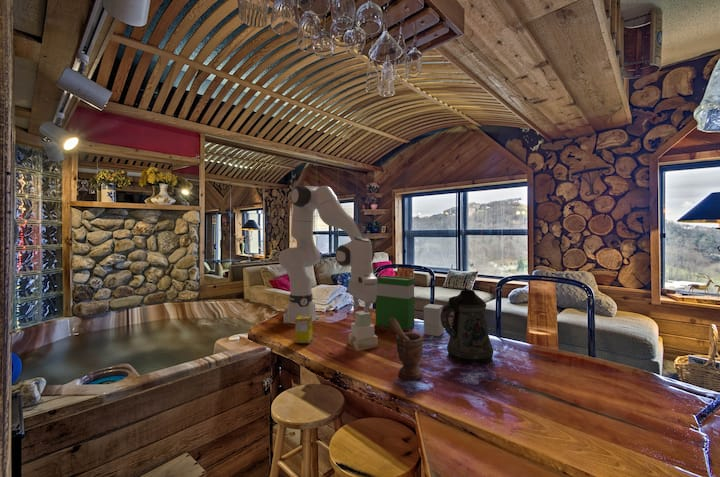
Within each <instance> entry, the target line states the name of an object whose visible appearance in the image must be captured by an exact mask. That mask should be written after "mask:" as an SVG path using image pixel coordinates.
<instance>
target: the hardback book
mask: <svg viewBox="0 0 720 477" xmlns="http://www.w3.org/2000/svg"><path fill="white" fill-rule="evenodd" d="M375 277H376V278H377V280H378V281H377V283H376V286H377V297H376V302H375V325H376V326H382V327H388V328H391V327H390V325H389V323H388V320H389V319H390V318H392V317H393V318H395V319H396V320H397V321H398V323H399V325H400V327H401V329H402V330H406V331H409V330H411V329H413V327H415V278H414V277H407V276H405V277H404V276H394V275H384V274H383V275H381V276H375Z"/></svg>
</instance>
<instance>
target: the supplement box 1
mask: <svg viewBox="0 0 720 477" xmlns="http://www.w3.org/2000/svg"><path fill="white" fill-rule="evenodd" d="M294 325H295V326H294V332H295V333H294V335H295V345H310V344H311V343H312V341H313V322H312V316H309V315H299V316H298V317H297V318H296V319H295V324H294Z"/></svg>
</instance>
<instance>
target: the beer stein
mask: <svg viewBox="0 0 720 477" xmlns="http://www.w3.org/2000/svg"><path fill="white" fill-rule="evenodd" d="M486 308H487V303H486V302H485V300H483V299H482V298H481V297H479V295H477V294H476V292H475V290H471V289H462V290H461V291H460V292H459V294H458V295H453V296H450V297H449V298H448V303H447V304H446V305H443V309H442V312H441V316H440V318H441V323H442V326H443V328H444V332H446V333H447V335H449V340H448V343H447V345H446V349H447V355H448V357H449V358H450V360H452V361H454V362H457V363H459V364H462V365H467V366H486V365H487V364H488V365H489V364H490V363H491V362H492V361H493V360H492V359H493V355H494V348H493V345H492V343H491V340H490V335H489V330H488V326H487V325H488V324H487V318H486V313H485V311H486ZM452 312H453V313H452ZM451 314H452V320H451V325H450V322H449V318H450V315H451Z"/></svg>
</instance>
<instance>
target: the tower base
mask: <svg viewBox="0 0 720 477" xmlns="http://www.w3.org/2000/svg"><path fill="white" fill-rule="evenodd" d="M374 336H375V337H371V338H364V339H356V338H355V337H354V336H353V335H352V334H351V332H350V333H348V344H349V345H350V346H351V347H352V348H354V349H355V350H357V351H363V350H368V349H374V348H378V346H379V344H378V343H379V339H378V338H379V337H378V336H377V335H376V334H374Z"/></svg>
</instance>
